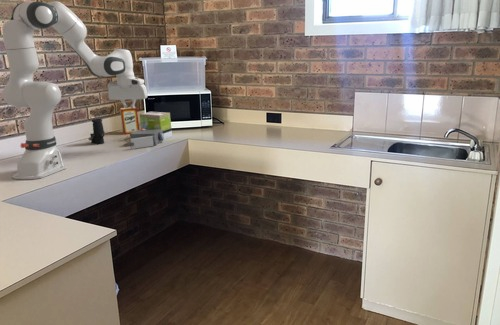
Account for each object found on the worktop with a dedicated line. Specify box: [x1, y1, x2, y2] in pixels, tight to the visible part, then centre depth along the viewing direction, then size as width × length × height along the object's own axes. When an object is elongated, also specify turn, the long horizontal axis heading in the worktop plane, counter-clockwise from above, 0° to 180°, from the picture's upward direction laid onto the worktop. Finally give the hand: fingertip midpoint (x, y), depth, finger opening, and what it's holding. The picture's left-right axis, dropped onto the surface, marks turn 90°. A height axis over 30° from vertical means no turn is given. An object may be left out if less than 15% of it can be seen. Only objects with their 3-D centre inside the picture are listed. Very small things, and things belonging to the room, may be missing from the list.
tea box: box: [139, 111, 173, 141], centre depth 238 cm, size 15×10×15 cm, turn 63°
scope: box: [88, 118, 106, 145], centre depth 230 cm, size 8×14×10 cm
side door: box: [129, 136, 156, 150], centre depth 216 cm, size 2×13×5 cm, turn 117°
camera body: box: [129, 128, 165, 146], centre depth 226 cm, size 12×16×7 cm
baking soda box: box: [119, 106, 140, 136], centre depth 256 cm, size 10×6×16 cm
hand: (129, 108), depth 213 cm, fingers open, 2 cm apart
